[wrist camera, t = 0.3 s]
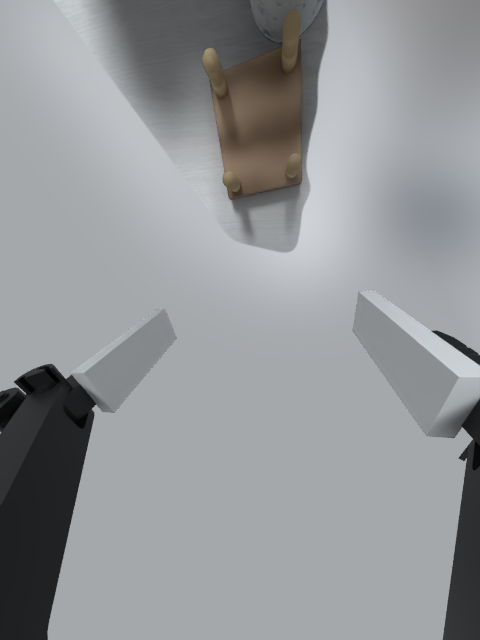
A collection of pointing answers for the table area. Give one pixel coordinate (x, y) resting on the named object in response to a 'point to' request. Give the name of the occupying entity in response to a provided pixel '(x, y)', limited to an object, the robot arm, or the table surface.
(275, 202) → the table surface
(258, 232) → the table surface
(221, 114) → the peg stand
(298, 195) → the table surface
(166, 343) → the robot arm
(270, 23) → the grey marbled cylinder
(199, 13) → the table surface
